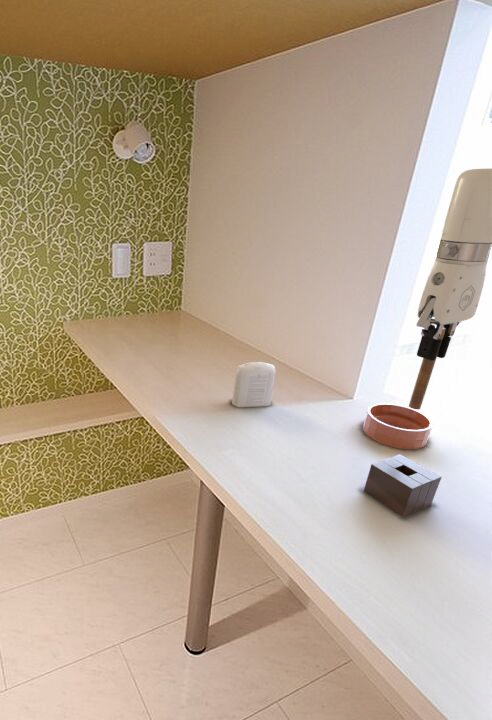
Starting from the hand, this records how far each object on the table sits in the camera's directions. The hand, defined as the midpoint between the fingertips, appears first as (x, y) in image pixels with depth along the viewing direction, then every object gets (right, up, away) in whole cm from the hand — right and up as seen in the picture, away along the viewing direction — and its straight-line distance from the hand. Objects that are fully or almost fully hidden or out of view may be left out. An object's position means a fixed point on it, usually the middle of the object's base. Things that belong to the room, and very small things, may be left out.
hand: (430, 356), depth 80 cm
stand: (-6, -27, +1) cm, 28 cm away
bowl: (+6, -17, +22) cm, 28 cm away
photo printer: (-24, -10, +36) cm, 44 cm away
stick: (0, -10, +5) cm, 11 cm away
